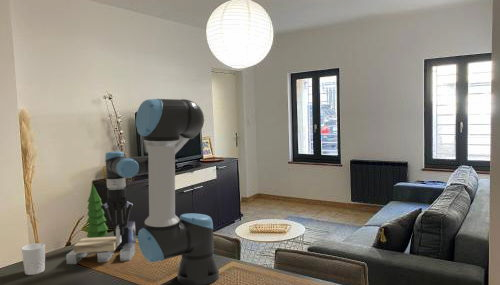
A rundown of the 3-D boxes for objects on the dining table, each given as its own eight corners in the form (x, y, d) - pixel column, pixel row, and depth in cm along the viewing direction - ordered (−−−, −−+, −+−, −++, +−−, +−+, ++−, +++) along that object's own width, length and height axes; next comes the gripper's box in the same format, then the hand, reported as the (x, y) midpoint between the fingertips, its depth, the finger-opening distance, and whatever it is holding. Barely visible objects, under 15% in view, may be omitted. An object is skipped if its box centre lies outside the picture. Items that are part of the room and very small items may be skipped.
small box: (129, 249, 169) (128, 227, 169) (114, 250, 170) (113, 227, 169) (136, 242, 180) (135, 220, 179) (123, 242, 180) (122, 220, 179)
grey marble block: (76, 264, 154) (75, 254, 154) (66, 264, 154) (66, 254, 154) (87, 255, 164) (86, 246, 164) (78, 255, 164) (77, 246, 164)
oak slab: (114, 250, 156) (113, 243, 155) (73, 253, 154) (73, 245, 154) (120, 242, 166) (119, 236, 165) (82, 244, 164) (82, 238, 164)
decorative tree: (83, 249, 171) (79, 184, 169) (92, 242, 180) (89, 180, 178) (104, 249, 171) (101, 183, 169) (112, 242, 180) (109, 180, 178)
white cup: (18, 274, 145) (16, 248, 144) (36, 266, 152) (34, 242, 152) (33, 276, 142) (31, 250, 142) (51, 268, 150) (49, 244, 149)
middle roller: (107, 261, 156) (107, 252, 155) (97, 262, 155) (97, 252, 155) (114, 253, 166) (113, 244, 165) (104, 253, 165) (104, 244, 165)
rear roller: (130, 260, 156) (129, 251, 156) (120, 260, 156) (119, 251, 156) (135, 251, 166) (134, 243, 166) (125, 252, 166) (125, 243, 166)
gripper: (97, 190, 155) (100, 246, 156) (130, 189, 156) (132, 244, 158) (103, 186, 162) (105, 240, 164) (134, 185, 163) (136, 239, 165)
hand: (119, 242), depth 161 cm, fingers closed
